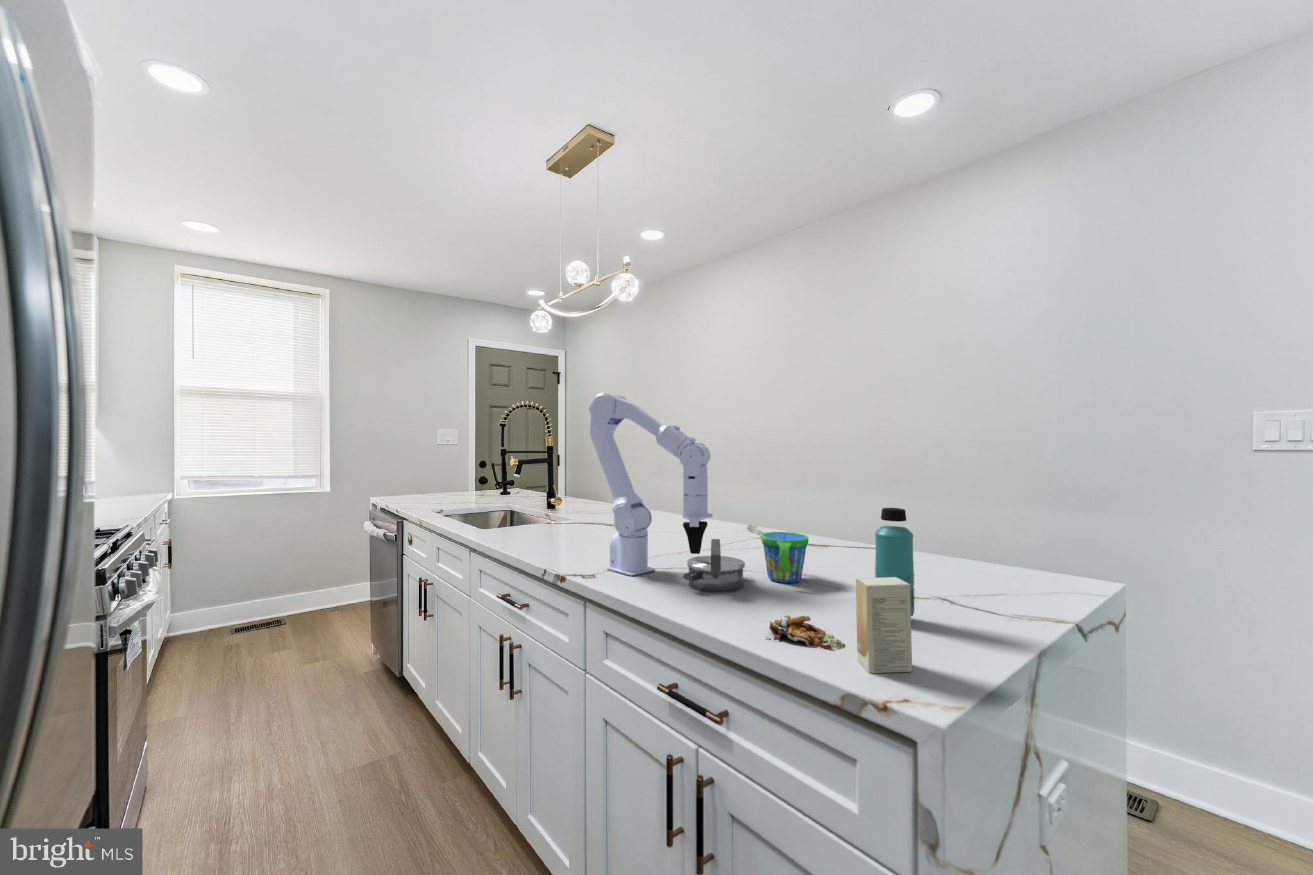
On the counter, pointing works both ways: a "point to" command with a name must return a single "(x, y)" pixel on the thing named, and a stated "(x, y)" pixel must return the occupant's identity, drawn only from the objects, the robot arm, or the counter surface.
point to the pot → (715, 580)
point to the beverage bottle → (895, 550)
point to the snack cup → (784, 555)
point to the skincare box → (883, 624)
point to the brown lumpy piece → (803, 632)
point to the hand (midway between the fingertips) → (695, 553)
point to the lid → (715, 561)
